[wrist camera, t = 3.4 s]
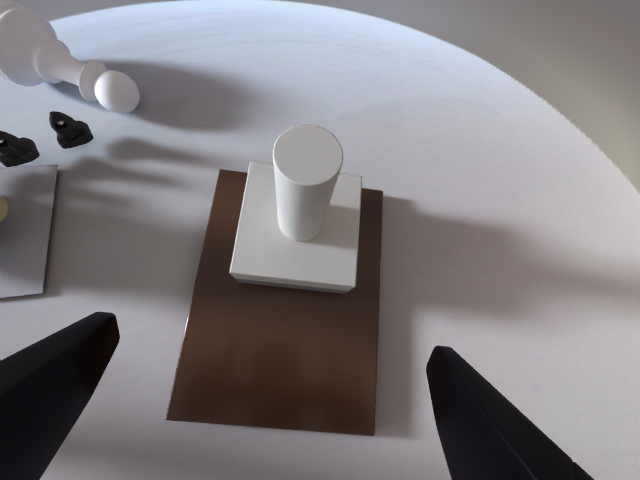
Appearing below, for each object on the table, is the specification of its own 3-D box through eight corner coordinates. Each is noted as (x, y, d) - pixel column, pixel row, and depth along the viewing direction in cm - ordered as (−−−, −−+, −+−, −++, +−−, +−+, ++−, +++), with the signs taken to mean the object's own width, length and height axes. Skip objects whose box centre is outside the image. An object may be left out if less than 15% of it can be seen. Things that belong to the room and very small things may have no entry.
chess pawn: (-50, 6, 18) (107, 83, 19) (24, -11, 21) (154, 55, 22) (-12, 87, 21) (117, 146, 23) (46, 61, 25) (156, 114, 26)
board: (371, 432, 19) (374, 436, 18) (169, 416, 18) (164, 420, 17) (380, 195, 24) (383, 190, 23) (221, 174, 23) (219, 168, 22)
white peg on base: (345, 294, 20) (399, 256, 10) (238, 282, 20) (190, 231, 10) (351, 197, 22) (402, 91, 13) (255, 185, 22) (229, 64, 12)
